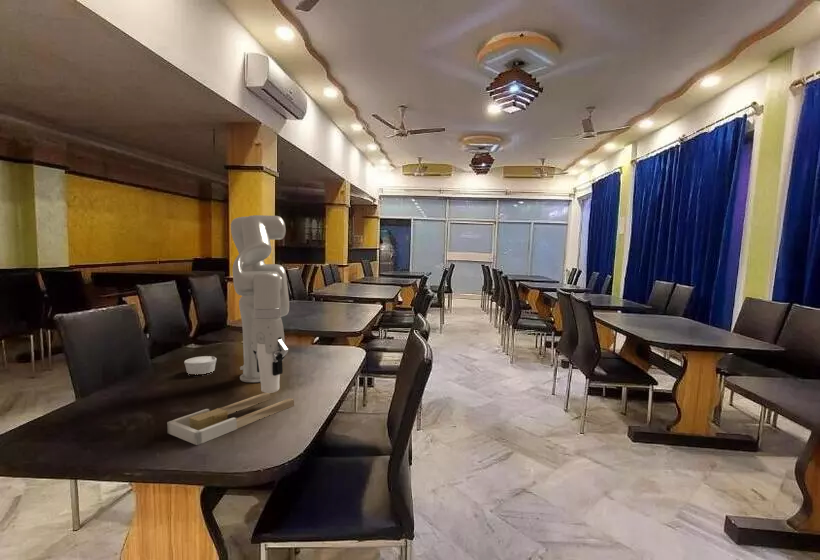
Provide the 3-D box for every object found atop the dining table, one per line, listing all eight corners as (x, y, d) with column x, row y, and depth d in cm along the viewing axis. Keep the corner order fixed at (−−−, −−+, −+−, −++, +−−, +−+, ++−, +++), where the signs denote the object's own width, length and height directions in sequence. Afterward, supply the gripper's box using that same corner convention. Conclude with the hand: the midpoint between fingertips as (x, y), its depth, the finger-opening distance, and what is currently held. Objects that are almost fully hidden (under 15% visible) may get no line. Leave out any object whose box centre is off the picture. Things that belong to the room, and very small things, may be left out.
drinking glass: (286, 388, 133) (285, 340, 132) (272, 395, 127) (271, 344, 126) (268, 386, 135) (266, 338, 134) (253, 393, 129) (251, 343, 128)
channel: (208, 419, 121) (207, 412, 121) (266, 398, 138) (266, 392, 138) (236, 429, 114) (235, 421, 114) (294, 405, 131) (293, 399, 131)
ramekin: (219, 373, 166) (218, 360, 166) (187, 378, 160) (186, 364, 160) (214, 367, 176) (213, 354, 175) (183, 372, 169) (182, 358, 169)
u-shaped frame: (167, 433, 112) (167, 421, 112) (207, 419, 121) (206, 408, 121) (197, 445, 105) (196, 433, 105) (236, 429, 114) (236, 418, 114)
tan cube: (190, 432, 113) (189, 417, 112) (204, 427, 116) (203, 412, 116) (199, 436, 111) (198, 420, 110) (213, 430, 114) (212, 415, 114)
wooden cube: (205, 427, 116) (204, 413, 116) (218, 422, 119) (217, 408, 119) (214, 430, 114) (214, 415, 114) (227, 425, 117) (227, 410, 117)
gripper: (238, 313, 131) (240, 371, 132) (277, 317, 122) (279, 380, 123) (259, 310, 137) (261, 366, 139) (297, 314, 128) (299, 373, 129)
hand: (269, 372), depth 131 cm, fingers closed on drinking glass, 6 cm apart
